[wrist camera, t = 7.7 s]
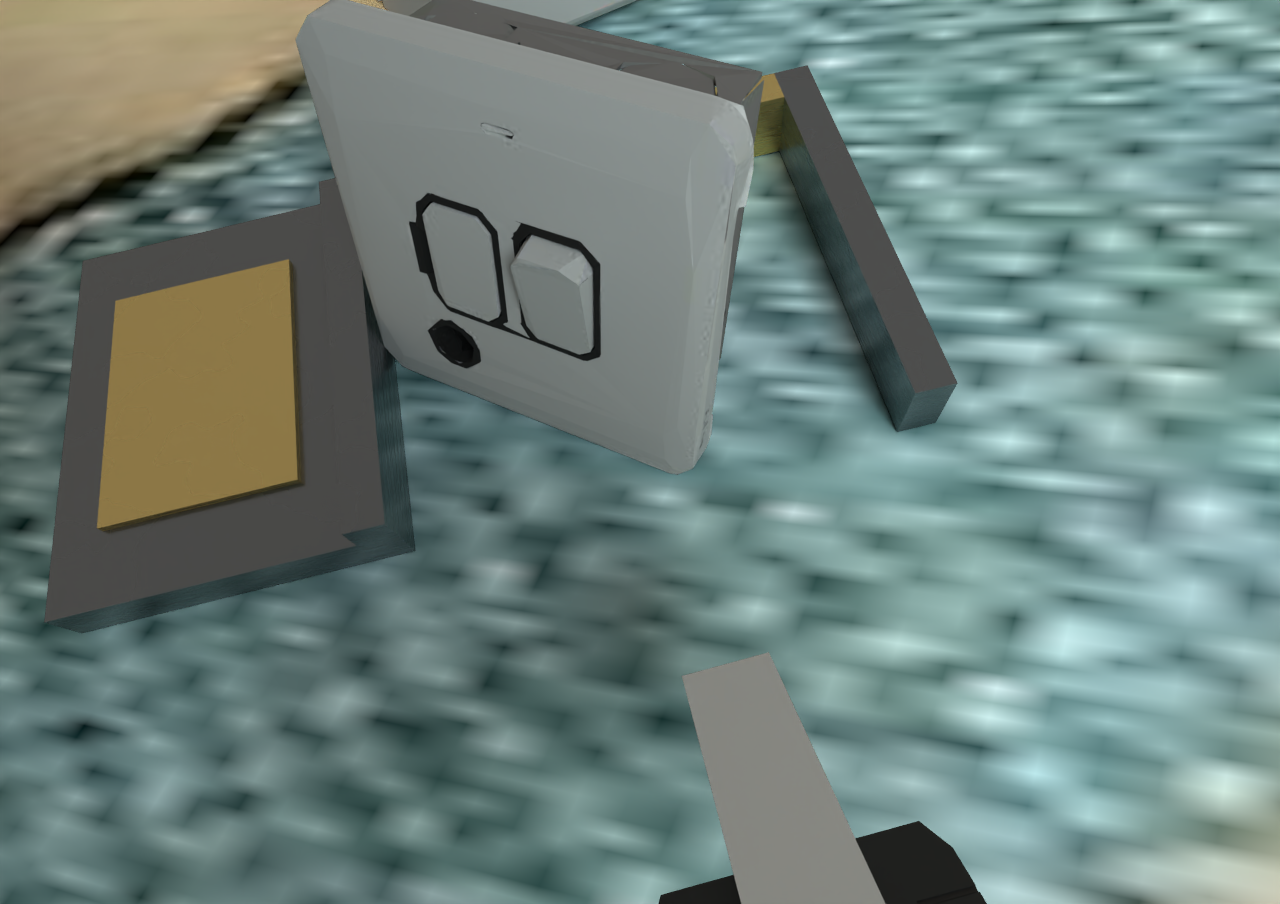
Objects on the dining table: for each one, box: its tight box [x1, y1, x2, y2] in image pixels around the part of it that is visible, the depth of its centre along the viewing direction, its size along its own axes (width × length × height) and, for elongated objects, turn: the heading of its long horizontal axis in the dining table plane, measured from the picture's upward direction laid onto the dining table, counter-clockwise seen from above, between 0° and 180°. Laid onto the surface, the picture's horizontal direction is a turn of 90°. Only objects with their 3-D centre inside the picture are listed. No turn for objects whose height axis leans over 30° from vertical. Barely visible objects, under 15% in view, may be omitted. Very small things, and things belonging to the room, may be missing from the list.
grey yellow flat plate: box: [44, 66, 957, 633], centre depth 21 cm, size 22×11×2 cm, turn 103°
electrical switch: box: [296, 0, 764, 475], centre depth 18 cm, size 9×5×9 cm, turn 65°
